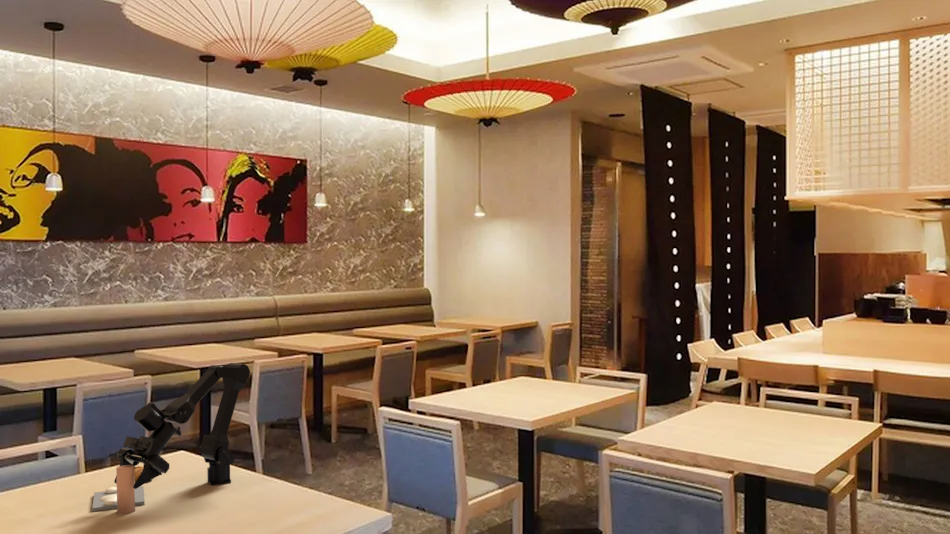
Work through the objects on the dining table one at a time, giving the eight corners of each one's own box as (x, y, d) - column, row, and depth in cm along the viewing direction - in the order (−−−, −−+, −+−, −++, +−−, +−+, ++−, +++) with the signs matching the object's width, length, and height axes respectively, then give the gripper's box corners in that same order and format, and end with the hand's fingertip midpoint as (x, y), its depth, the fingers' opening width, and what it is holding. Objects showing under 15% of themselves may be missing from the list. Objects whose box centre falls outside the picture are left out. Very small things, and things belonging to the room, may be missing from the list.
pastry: (158, 480, 253) (158, 469, 253) (138, 485, 248) (138, 473, 248) (146, 475, 259) (145, 463, 259) (126, 479, 254) (125, 468, 254)
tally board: (143, 489, 243) (143, 483, 243) (144, 504, 228) (144, 498, 228) (94, 495, 237) (94, 489, 237) (92, 511, 223) (92, 504, 223)
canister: (135, 507, 226) (134, 464, 226) (135, 512, 222) (134, 468, 221) (117, 510, 224) (116, 466, 224) (117, 515, 220) (116, 470, 219)
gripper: (122, 421, 231) (87, 466, 222) (160, 428, 221) (125, 476, 212) (145, 441, 238) (113, 485, 229) (183, 449, 228) (151, 496, 219)
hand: (124, 485), depth 222 cm, fingers open, 9 cm apart
